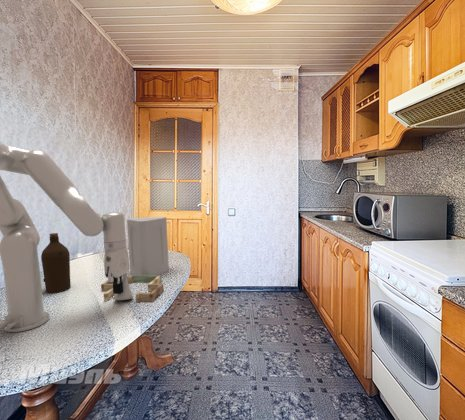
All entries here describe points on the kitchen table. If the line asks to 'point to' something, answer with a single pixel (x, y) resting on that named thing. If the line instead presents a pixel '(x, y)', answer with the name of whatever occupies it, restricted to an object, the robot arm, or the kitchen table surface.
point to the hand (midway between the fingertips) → (118, 292)
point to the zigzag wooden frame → (148, 297)
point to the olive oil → (56, 266)
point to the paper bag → (148, 245)
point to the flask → (124, 290)
